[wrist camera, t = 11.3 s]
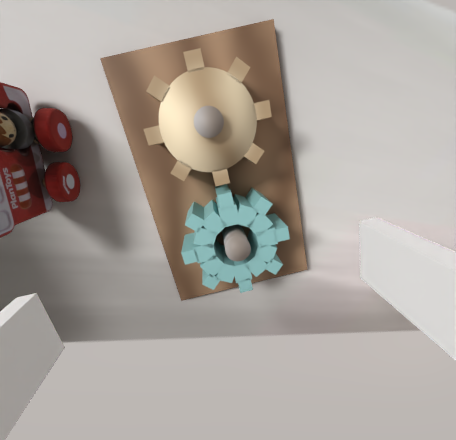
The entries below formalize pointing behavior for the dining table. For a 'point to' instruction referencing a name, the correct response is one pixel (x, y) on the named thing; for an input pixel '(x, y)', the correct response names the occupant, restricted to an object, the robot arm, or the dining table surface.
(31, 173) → the toy fire truck
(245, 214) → the teal gear
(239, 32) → the gear board
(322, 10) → the dining table surface
